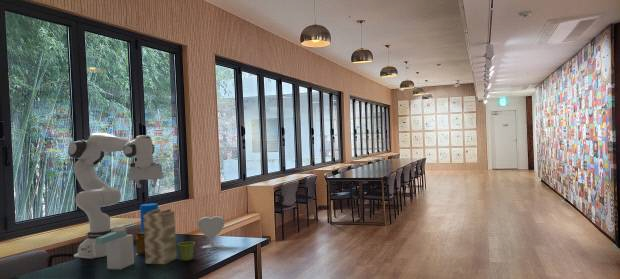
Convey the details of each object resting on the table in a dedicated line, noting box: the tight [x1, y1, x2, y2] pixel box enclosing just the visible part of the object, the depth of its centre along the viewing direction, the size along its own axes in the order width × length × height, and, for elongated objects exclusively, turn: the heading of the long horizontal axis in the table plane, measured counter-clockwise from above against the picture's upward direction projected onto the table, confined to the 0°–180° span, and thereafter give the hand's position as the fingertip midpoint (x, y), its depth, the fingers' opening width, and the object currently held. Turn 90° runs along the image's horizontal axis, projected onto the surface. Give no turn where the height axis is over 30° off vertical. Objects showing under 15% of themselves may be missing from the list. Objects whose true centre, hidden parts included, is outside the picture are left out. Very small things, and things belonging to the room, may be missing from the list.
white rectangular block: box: [106, 234, 135, 270], centre depth 240 cm, size 8×11×16 cm
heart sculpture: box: [197, 215, 225, 249], centre depth 276 cm, size 16×5×18 cm, turn 97°
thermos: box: [139, 202, 159, 232], centre depth 293 cm, size 11×11×25 cm
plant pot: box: [176, 241, 196, 261], centre depth 248 cm, size 9×9×9 cm
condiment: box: [134, 231, 145, 256], centre depth 267 cm, size 7×8×12 cm
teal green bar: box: [96, 224, 128, 244], centre depth 234 cm, size 4×21×6 cm, turn 170°
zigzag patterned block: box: [143, 208, 177, 265], centre depth 247 cm, size 12×11×28 cm
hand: (146, 187), depth 260 cm, fingers open, 8 cm apart
